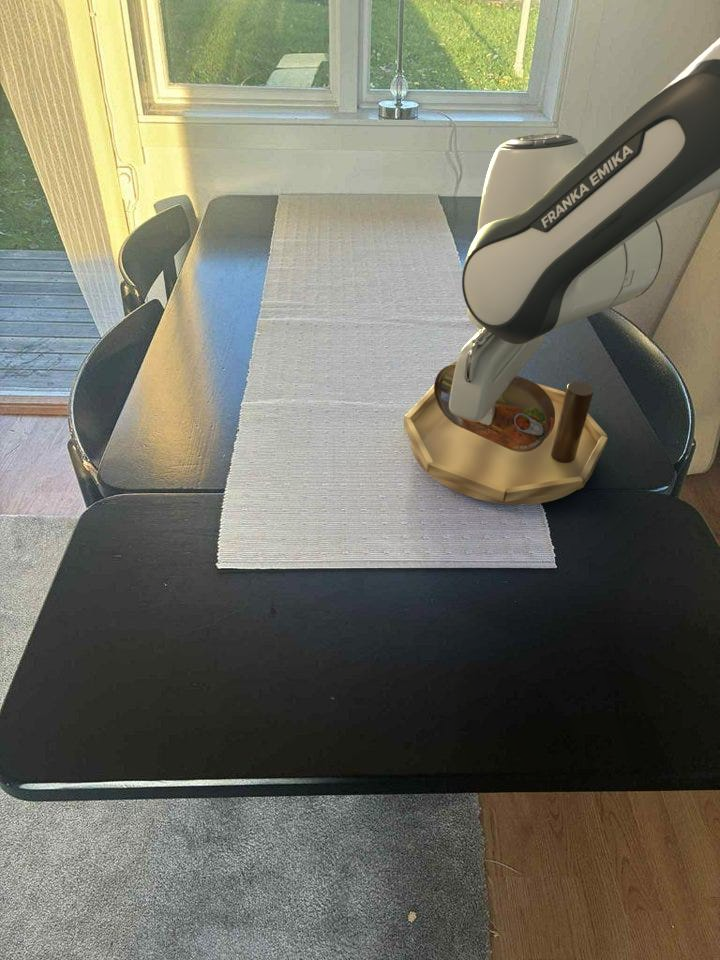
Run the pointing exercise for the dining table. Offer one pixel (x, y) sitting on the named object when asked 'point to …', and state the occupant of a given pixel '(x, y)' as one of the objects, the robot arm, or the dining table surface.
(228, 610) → the dining table surface
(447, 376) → the tin
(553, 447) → the tray
